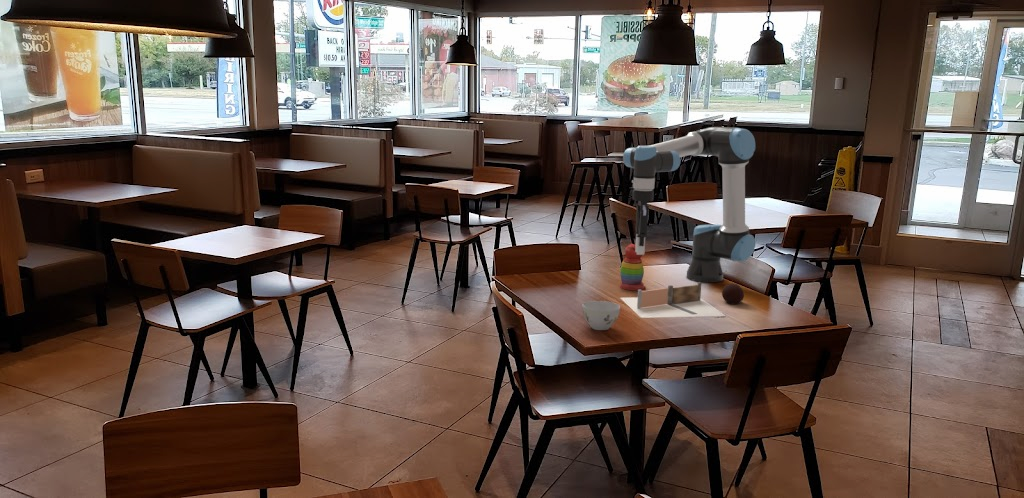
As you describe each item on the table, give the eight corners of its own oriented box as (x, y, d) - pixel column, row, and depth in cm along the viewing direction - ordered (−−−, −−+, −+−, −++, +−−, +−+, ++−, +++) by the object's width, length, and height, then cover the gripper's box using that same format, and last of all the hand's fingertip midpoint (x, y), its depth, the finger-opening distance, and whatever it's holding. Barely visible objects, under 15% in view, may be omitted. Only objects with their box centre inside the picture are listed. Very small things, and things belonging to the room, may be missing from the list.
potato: (727, 307, 281) (728, 287, 280) (716, 300, 290) (718, 281, 289) (747, 307, 283) (749, 286, 281) (736, 300, 292) (738, 280, 290)
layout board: (697, 297, 294) (697, 295, 294) (725, 317, 269) (725, 315, 268) (619, 299, 289) (619, 297, 289) (640, 319, 264) (641, 317, 264)
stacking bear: (646, 291, 302) (649, 247, 298) (621, 290, 302) (623, 246, 298) (642, 284, 312) (645, 241, 309) (617, 283, 313) (620, 241, 309)
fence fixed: (698, 299, 289) (699, 281, 288) (701, 300, 288) (702, 282, 286) (665, 303, 282) (667, 285, 281) (669, 305, 281) (670, 286, 279)
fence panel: (665, 303, 282) (666, 286, 280) (667, 304, 280) (668, 286, 279) (636, 307, 275) (637, 289, 274) (638, 308, 274) (639, 290, 273)
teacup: (626, 331, 251) (627, 308, 249) (593, 335, 246) (594, 311, 244) (602, 318, 264) (603, 296, 262) (571, 322, 259) (572, 299, 257)
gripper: (630, 186, 282) (626, 248, 286) (635, 192, 266) (632, 257, 270) (650, 186, 281) (646, 248, 286) (657, 192, 265) (653, 258, 270)
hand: (639, 253), depth 278 cm, fingers open, 3 cm apart
